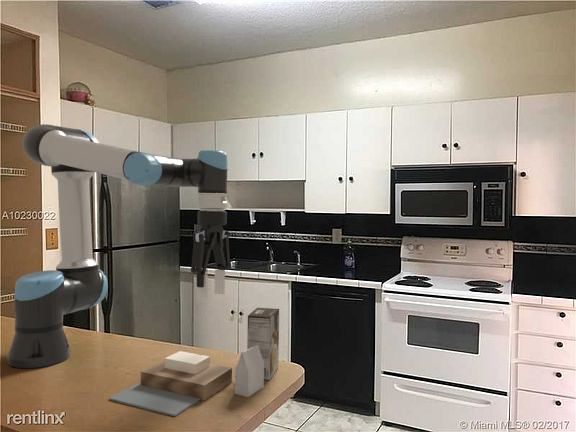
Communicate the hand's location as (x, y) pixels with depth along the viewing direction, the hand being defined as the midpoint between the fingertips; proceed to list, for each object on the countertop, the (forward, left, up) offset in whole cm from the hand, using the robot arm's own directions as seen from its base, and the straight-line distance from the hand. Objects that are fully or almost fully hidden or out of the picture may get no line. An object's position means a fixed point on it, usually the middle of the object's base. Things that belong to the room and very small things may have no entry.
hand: (211, 296), depth 124 cm
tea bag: (+16, -8, -19) cm, 26 cm away
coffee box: (+14, +4, -19) cm, 24 cm away
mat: (0, -22, -19) cm, 29 cm away
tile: (0, -10, -16) cm, 19 cm away
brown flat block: (+1, -11, -19) cm, 22 cm away
